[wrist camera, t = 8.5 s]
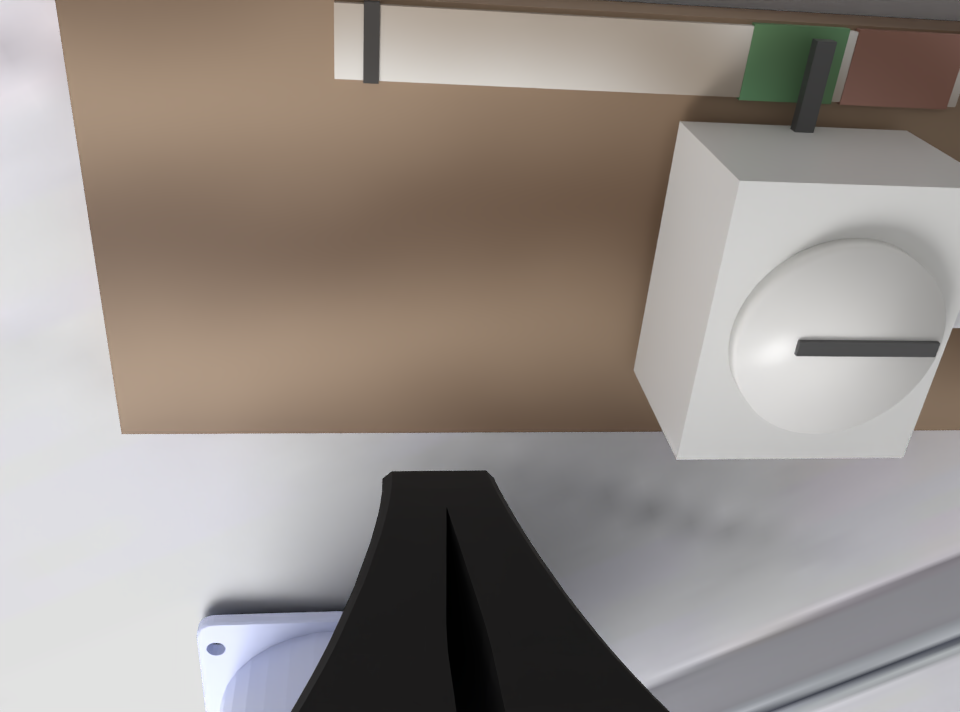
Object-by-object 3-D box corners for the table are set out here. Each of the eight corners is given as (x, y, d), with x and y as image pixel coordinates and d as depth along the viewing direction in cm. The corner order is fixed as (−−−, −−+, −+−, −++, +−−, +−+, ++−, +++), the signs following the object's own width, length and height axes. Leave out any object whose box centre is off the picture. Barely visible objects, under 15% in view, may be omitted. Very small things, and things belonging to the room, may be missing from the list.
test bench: (1088, 404, 26) (1313, 590, 20) (132, 405, 23) (46, 629, 16) (1268, 39, 21) (1645, 137, 15) (70, -32, 17) (-88, 57, 11)
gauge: (944, 371, 23) (1049, 474, 19) (633, 370, 22) (685, 478, 18) (1069, 50, 19) (1229, 105, 15) (696, 30, 18) (777, 84, 14)
